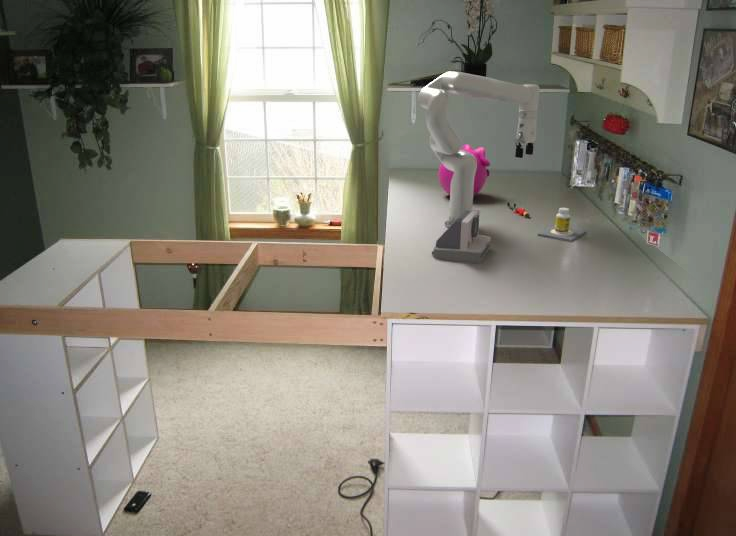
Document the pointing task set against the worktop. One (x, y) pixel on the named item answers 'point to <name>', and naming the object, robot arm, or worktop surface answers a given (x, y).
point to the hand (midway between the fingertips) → (524, 155)
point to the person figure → (519, 210)
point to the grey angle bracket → (463, 240)
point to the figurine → (480, 174)
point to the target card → (568, 236)
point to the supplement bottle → (562, 221)
